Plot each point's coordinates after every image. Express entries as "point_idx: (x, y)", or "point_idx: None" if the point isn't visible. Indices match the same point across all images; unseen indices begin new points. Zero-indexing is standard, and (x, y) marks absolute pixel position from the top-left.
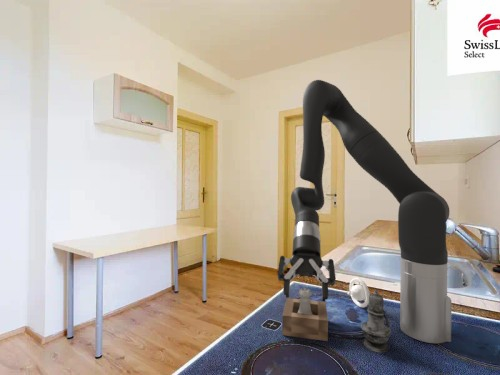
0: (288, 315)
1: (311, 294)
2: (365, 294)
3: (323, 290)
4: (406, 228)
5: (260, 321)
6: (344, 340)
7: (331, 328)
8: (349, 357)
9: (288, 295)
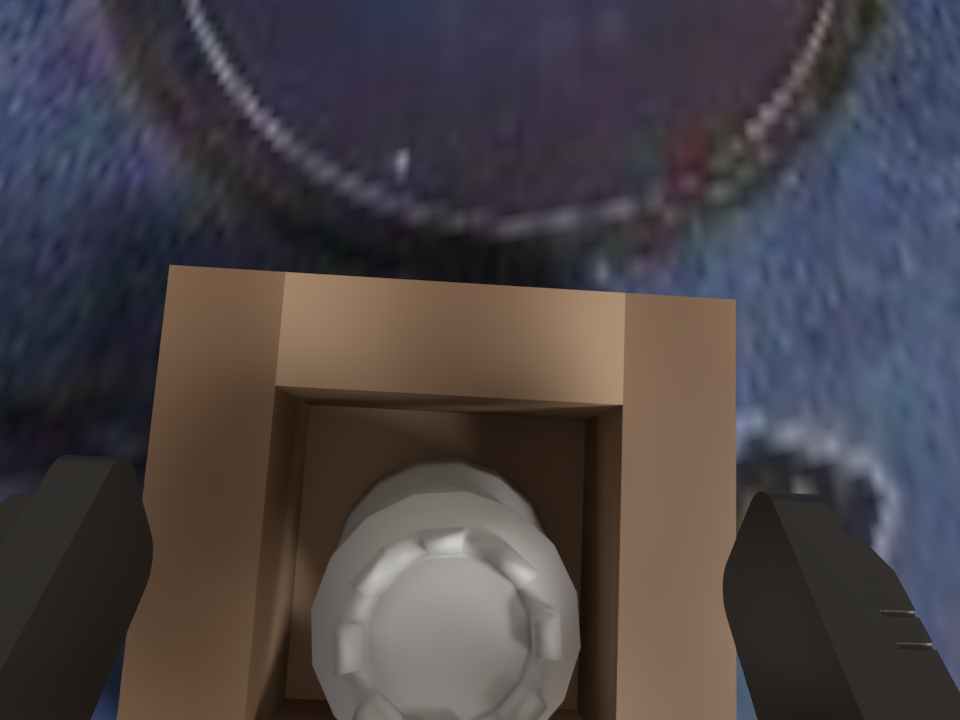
0: (663, 313)
1: (323, 584)
2: None
3: (32, 560)
4: None
5: (918, 571)
6: (69, 363)
7: None
8: (93, 113)
9: (755, 502)
